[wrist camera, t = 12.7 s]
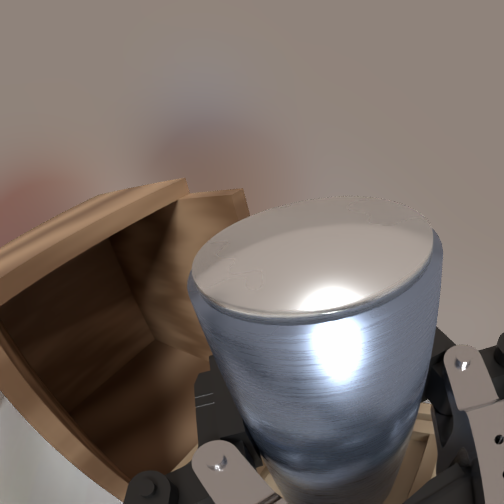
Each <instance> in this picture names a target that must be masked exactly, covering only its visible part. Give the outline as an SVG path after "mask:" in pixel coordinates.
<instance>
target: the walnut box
mask: <svg viewBox="0 0 504 504" xmlns="http://www.w3.org/2000/svg"><path fill="white" fill-rule="evenodd" d="M249 216H250V214H249V210H248V206H247V202H246V198H245V194H244V190H243V188H241V189H230V190H220V191H210V192H200V193H190V192H189V189H188V185H187V182H186V179H185V178H181V179H175V180H169V181H164V182H158V183H153V184H148V185H143V186H138V187H133V188H128V189H124V190H119V191H114V192H110V193H105V194H101V195H97V196H95V197H93V198H91V199H89V200H87V201H85V202H83V203H81V204H79V205H77V206H75V207H73V208H71V209H69V210H67V211H65V212H63V213H61V214H59V215H57V216H55V217H53V218H51V219H50V220H48V221H46V222H44V223H42V224H40V225H39V226H37V227H35V228H33V229H31V230H30V231H28V232H26V233H24V234H23V235H21V236H19V237H17V238H16V239H14V240H12V241H11V242H9V243H7V244H6V245H4V246H2V247H1V248H0V390H1V392H2V393H3V394H4V395H5V396H6V398H7V399H8V400H9V401H10V402H11V404H12V405H13V406H14V407H15V408H16V409H17V410H18V412H19V413H20V414H21V415H22V416H23V417H24V418H25V419H26V420H27V421H28V422H29V423H30V424H31V426H32V427H33V428H34V429H35V430H36V431H37V432H38V433H39V434H40V435H41V436H42V437H43V438H44V439H45V440H46V441H47V442H49V443H50V444H51V445H52V446H53V447H54V448H55V449H56V450H57V451H58V452H59V453H60V454H62V455H63V456H64V457H65V458H66V459H67V460H68V461H70V462H71V463H72V464H73V465H74V466H75V467H77V468H78V469H79V470H80V471H82V472H83V473H84V474H85V475H87V476H88V477H89V478H90V479H92V480H93V481H94V482H96V483H97V484H98V485H100V486H101V487H102V488H104V489H105V490H106V491H108V492H109V493H111V494H112V495H114V496H115V497H116V498H118V499H119V500H121V501H122V502H124V499H125V495H126V491H127V487H128V484H129V482H130V481H131V479H132V478H133V477H134V476H135V475H137V474H138V473H141V472H143V471H148V470H153V471H158V472H160V473H162V474H163V475H166V474H168V473H170V472H171V471H172V470H173V469H174V468H175V467H176V466H177V465H178V464H179V463H180V462H181V461H182V460H183V459H184V458H185V457H186V456H187V455H188V453H189V452H190V451H191V450H192V449H193V448H194V447H195V446H196V445H197V444H198V435H197V423H196V410H195V409H196V407H195V396H194V383H195V381H196V379H197V376H198V374H199V373H202V372H206V371H210V364H209V356H210V355H213V354H212V351H211V349H210V347H209V344H208V342H207V340H206V337H205V335H204V332H203V330H202V328H201V325H200V323H199V320H198V318H197V315H196V313H195V310H194V308H193V305H192V303H191V300H190V298H189V295H188V290H187V280H188V277H189V274H190V271H191V269H192V264H193V261H194V258H195V256H196V254H197V253H198V251H199V250H200V249H201V248H202V246H203V245H204V244H205V243H206V242H207V241H209V240H210V239H211V238H212V237H214V236H215V235H216V234H218V233H219V232H221V231H222V230H224V229H225V228H227V227H229V226H231V225H232V224H234V223H236V222H238V221H240V220H242V219H245V218H247V217H249Z"/></svg>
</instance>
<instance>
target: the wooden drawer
mask: <svg viewBox="0 0 504 504" xmlns="http://www.w3.org/2000/svg"><path fill="white" fill-rule="evenodd" d="M430 408H431V404H427V403H420V407H419V411H418V414H417V418H416V421H415V425H414V428H413V431H412V435H411V438H410V441H409V444H408V447H407V450H406V453H405V456H404V458H403V461H402V464H401V467H400V469H399V472H398V475H397V477H396V480H395V482H394V485H393V487H392V489H391V491H390V494H389V495H388V497H387V498H386V500H385V501H384V502H383V504H402V503H404V502H405V501H406V500H407V499H408V498H410V497H411V496H412V495H413V494H414V493H415V492H417V491H418V490H419V489H420V488H421V487H422V486H423V485H424V484H425V483H427V482H428V481H429V480H430V479H432V478H433V477H435V476H436V462H437V455H438V453H437V445H436V439H435V433H434V427H433V422H432V417H431V411H430ZM197 449H198V444H197V445H196V446H195V447H194V448H193V449H192V450H191V451H190V452H189V453H188V455H187V456H186V457H185V458H184V459H183V460H182V461H181V462H180V463H179V464H178V465H177V466H176V467H175V468H174V469H173V470H172V471H174V470H177V469H179V468H181V467H183V466H185V465H186V464H188V463H189V462H190V461H191V460H192V457H193V455H194V453H195V452H196V450H197ZM261 458H262V457H261ZM262 462H263V466H261V467H257V468H256V469H257V473H258V474H259V475H260V476H261V477H262V478H263V480H264V481H265V482H266V483H267V484H268V485H269V486H270V487H271V488H272V489H273V491H274V492H275V493H277V494H278V495H280V496H281V497H282V498H283V499H284V497H283V495H282V493H281V492H280V490H279V488H278V486H277V485H276V483H275V481H274V479H273V477H272V475H271V474H270V472H269V470H268V468H267V466H266V464H265V462H264V460H263V459H262ZM172 471H171V472H172ZM284 500H285V499H284Z"/></svg>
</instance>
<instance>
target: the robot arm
mask: <svg viewBox="0 0 504 504" xmlns="http://www.w3.org/2000/svg"><path fill="white" fill-rule="evenodd" d="M209 364H210V371H206V372H202V373H199V374H198V376H197V379H196V381H195V383H194V396H195V407H196V409H195V410H196V423H197V435H198V449H197V450H196V452H195V453H194V455H193V457H192V460H191V461H190V462H189V463H188V464H186V465H185V466H183V467H181V468H179V469H177V470H174V471H172V472H170V473H168V474H166V475H163V474H162V473H160V472H158V471H153V470H148V471H143V472H141V473H138V474H137V475H135V476H134V477H133V478H132V479H131V481H130V482H129V484H128V487H127V491H126V495H125V499H124V503H123V504H288V503H287V502H286V501H285V500H284V499H283V498H282V497H281V496H280V495H278V494H277V493H275V492H274V491H273V489H272V488H271V487H270V486H269V485H268V484H267V483H266V482H265V481H264V480H263V478H262V477H261V476H260V475H259V474H258V473H257V469H256V468H257V467H261V466H263V462H262V458H261V455H260V452H259V450H258V448H257V447H256V445H255V443H254V441H253V439H252V437H251V435H250V433H249V431H248V429H247V427H246V425H245V423H244V420H243V418H242V417H241V415H240V413H239V411H238V409H237V406H236V404H235V402H234V400H233V398H232V396H231V394H230V392H229V389H228V387H227V385H226V383H225V381H224V378H223V376H222V374H221V372H220V370H219V367H218V365H217V363H216V360H215V358H214V356H213V355H210V356H209ZM427 399H429V401H430V402H431V403H432V404H431V408H430V411H431V417H432V422H433V427H434V433H435V439H436V445H437V453H438V455H437V462H436V476H435V477H433V478H432V479H430V480H429V481H428V482H427V483H425V484H424V485H423V486H422V487H421V488H420V489H419V490H418V491H417V492H415V493H414V494H413V495H412V496H411V497H410V498H408V499H407V500H406V501H405V502H404V503H402V504H504V333H503V334H502V335H500V337H499V339H498V342H497V345H496V346H493V347H490V348H486V349H483V350H479V351H478V350H477V349H475V348H474V347H472V346H468V345H456V344H454V343H453V342H452V341H451V340H450V339H449V338H448V337H447V336H446V335H445V334H444V333H443V332H442V331H441V330H439V329H438V328H437V327H436V330H435V336H434V343H433V348H432V354H431V359H430V364H429V369H428V374H427V378H426V383H425V387H424V391H423V395H422V399H421V403H422V402H423V401H425V400H427Z"/></svg>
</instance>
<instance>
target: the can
mask: <svg viewBox="0 0 504 504" xmlns="http://www.w3.org/2000/svg"><path fill="white" fill-rule="evenodd" d="M442 259H443V249H442V243H441V241H440V239H439V236H438V235H437V233H436V232H435V231H434V230H433V228H431V225H430V223H429V222H428V221H427V219H426V218H425V217H424V216H423V215H422V214H421V213H419V212H417V211H416V210H415V209H413V208H411V207H409V206H406V205H404V204H401V203H398V202H395V201H391V200H386V199H380V198H373V197H359V196H345V197H344V196H341V197H327V198H318V199H311V200H305V201H300V202H295V203H291V204H286V205H282V206H278V207H275V208H272V209H268V210H265V211H262V212H260V213H257V214H254V215H252V216H249V217H247V218H245V219H242V220H240V221H238V222H236V223H234V224H232V225H231V226H229V227H227V228H225V229H224V230H222V231H221V232H219V233H218V234H216V235H215V236H214V237H212V238H211V239H210V240H209V241H207V242H206V243H205V244H204V245H203V246H202V248H201V249H200V250H199V251H198V253H197V254H196V256H195V258H194V261H193V264H192V269H191V271H190V274H189V277H188V280H187V290H188V295H189V298H190V300H191V303H192V305H193V308H194V310H195V313H196V315H197V318H198V320H199V323H200V325H201V328H202V330H203V332H204V335H205V337H206V340H207V342H208V344H209V347H210V349H211V351H212V354H213V356H214V358H215V360H216V363H217V365H218V367H219V370H220V372H221V374H222V376H223V378H224V381H225V383H226V385H227V387H228V389H229V392H230V394H231V396H232V398H233V400H234V402H235V404H236V406H237V409H238V411H239V413H240V415H241V417H242V418H243V420H244V423H245V425H246V427H247V429H248V431H249V433H250V435H251V437H252V439H253V441H254V443H255V445H256V447H257V448H258V450H259V452H260V455H261V457H262V459H263V460H264V462H265V464H266V466H267V468H268V470H269V472H270V474H271V475H272V477H273V479H274V481H275V483H276V485H277V486H278V488H279V490H280V492H281V493H282V495H283V497H284V499H285V501H286V502H287V503H288V504H383V502H384V501H385V500H386V498H387V497H388V495H389V494H390V491H391V489H392V487H393V485H394V482H395V480H396V477H397V475H398V472H399V469H400V467H401V464H402V461H403V458H404V456H405V453H406V450H407V447H408V444H409V441H410V438H411V435H412V431H413V428H414V425H415V421H416V418H417V414H418V411H419V407H420V403H421V399H422V395H423V391H424V387H425V383H426V378H427V374H428V369H429V364H430V359H431V354H432V348H433V343H434V336H435V330H436V323H437V316H438V307H439V299H440V298H439V297H440V288H441V275H442Z"/></svg>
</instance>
